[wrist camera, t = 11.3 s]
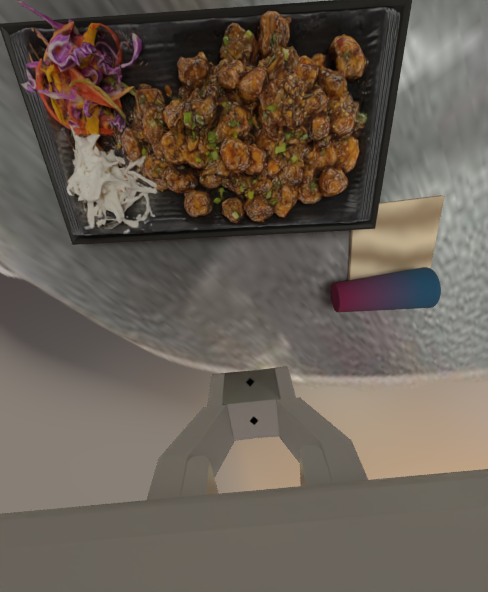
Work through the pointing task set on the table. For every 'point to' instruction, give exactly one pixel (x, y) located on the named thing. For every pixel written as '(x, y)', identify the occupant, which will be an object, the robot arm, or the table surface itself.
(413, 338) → the table surface
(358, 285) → the cup
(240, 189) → the food platter
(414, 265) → the wooden board
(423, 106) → the table surface
